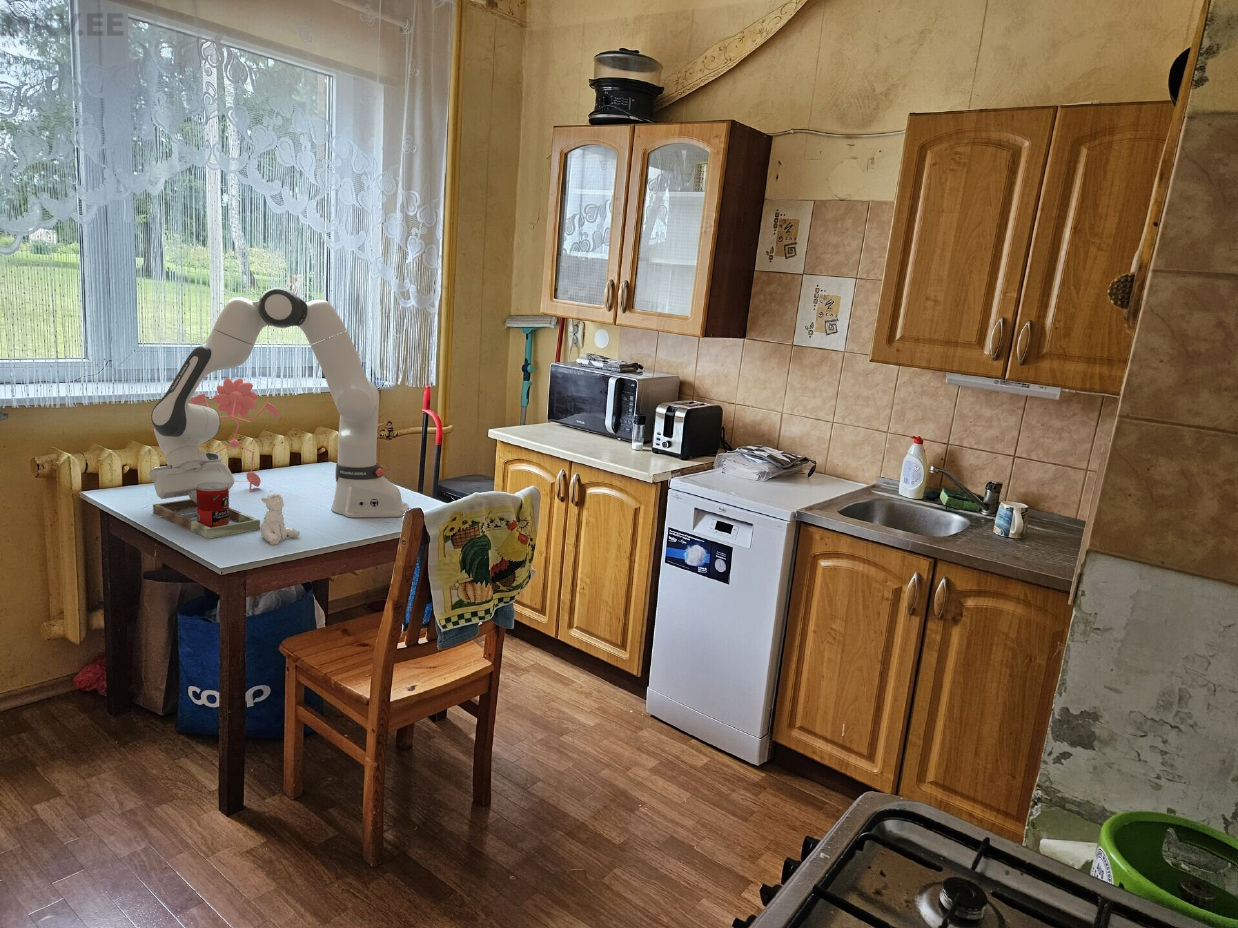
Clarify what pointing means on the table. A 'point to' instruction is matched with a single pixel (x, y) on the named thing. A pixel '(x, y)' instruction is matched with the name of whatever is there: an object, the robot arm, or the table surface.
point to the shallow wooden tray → (174, 516)
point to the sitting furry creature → (275, 521)
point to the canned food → (213, 504)
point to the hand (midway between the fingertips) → (204, 505)
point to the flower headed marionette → (237, 410)
